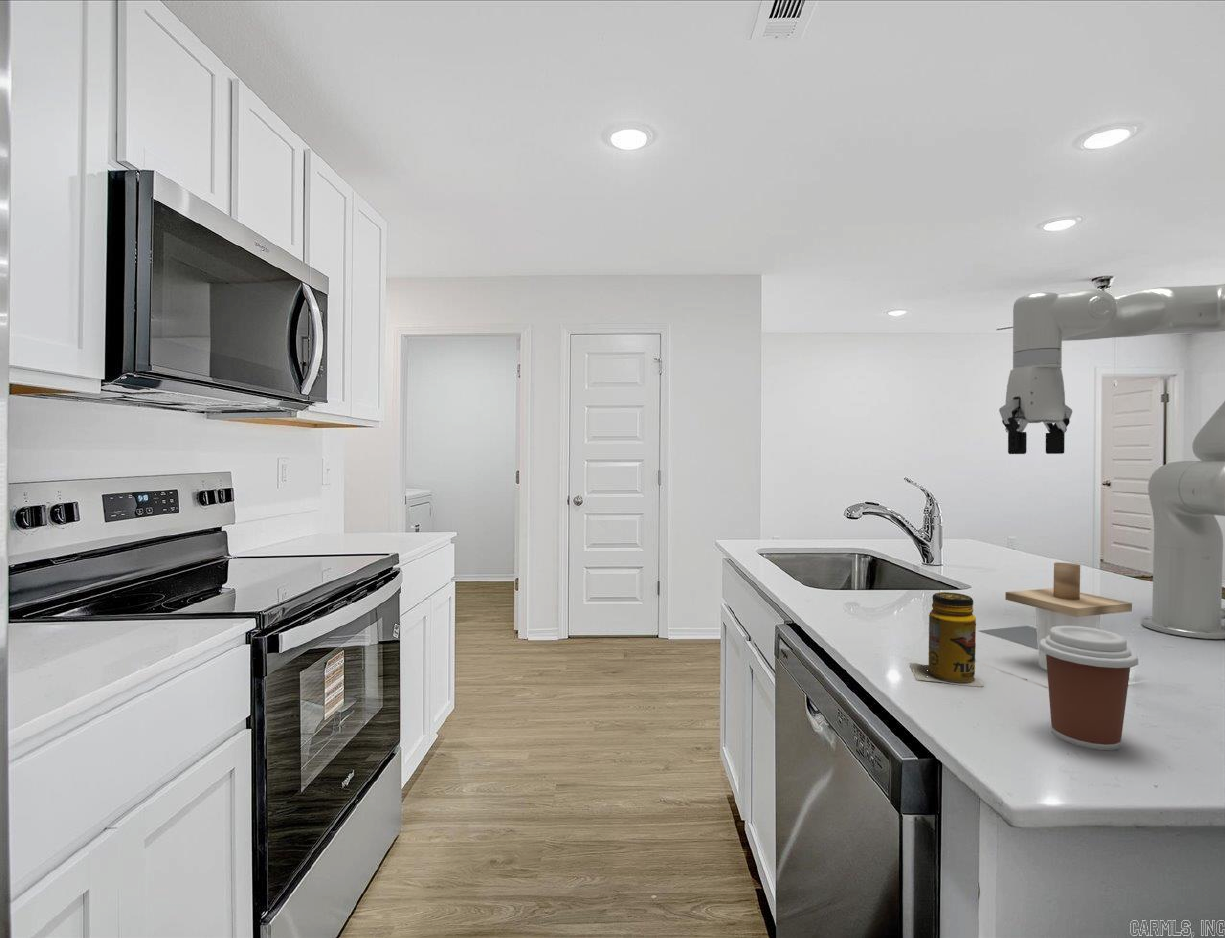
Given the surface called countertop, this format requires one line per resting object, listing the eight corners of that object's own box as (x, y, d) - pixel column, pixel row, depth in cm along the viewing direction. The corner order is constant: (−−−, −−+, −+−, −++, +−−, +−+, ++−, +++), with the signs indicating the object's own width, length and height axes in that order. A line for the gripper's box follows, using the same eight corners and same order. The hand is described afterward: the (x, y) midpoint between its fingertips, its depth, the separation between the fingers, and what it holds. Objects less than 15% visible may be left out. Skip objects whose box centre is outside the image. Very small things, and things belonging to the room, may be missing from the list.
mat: (1026, 627, 119) (1026, 625, 119) (1092, 646, 107) (1092, 643, 107) (977, 632, 115) (977, 630, 115) (1039, 652, 103) (1040, 650, 103)
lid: (1057, 595, 101) (1058, 557, 101) (1131, 611, 91) (1132, 568, 91) (1005, 599, 98) (1006, 560, 98) (1076, 617, 87) (1077, 572, 87)
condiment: (983, 687, 88) (984, 602, 87) (916, 681, 90) (917, 597, 90) (970, 670, 95) (972, 591, 94) (909, 665, 97) (910, 587, 97)
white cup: (1110, 682, 90) (1112, 613, 89) (1049, 678, 91) (1050, 610, 91) (1081, 665, 97) (1082, 601, 97) (1025, 661, 99) (1026, 598, 99)
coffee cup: (1046, 746, 70) (1048, 639, 69) (1029, 715, 78) (1031, 619, 78) (1150, 763, 66) (1152, 649, 66) (1120, 728, 74) (1122, 628, 74)
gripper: (1050, 366, 123) (1049, 453, 123) (984, 362, 117) (983, 454, 118) (1090, 361, 116) (1089, 453, 116) (1021, 356, 110) (1021, 454, 111)
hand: (1036, 453), depth 117 cm, fingers open, 9 cm apart
